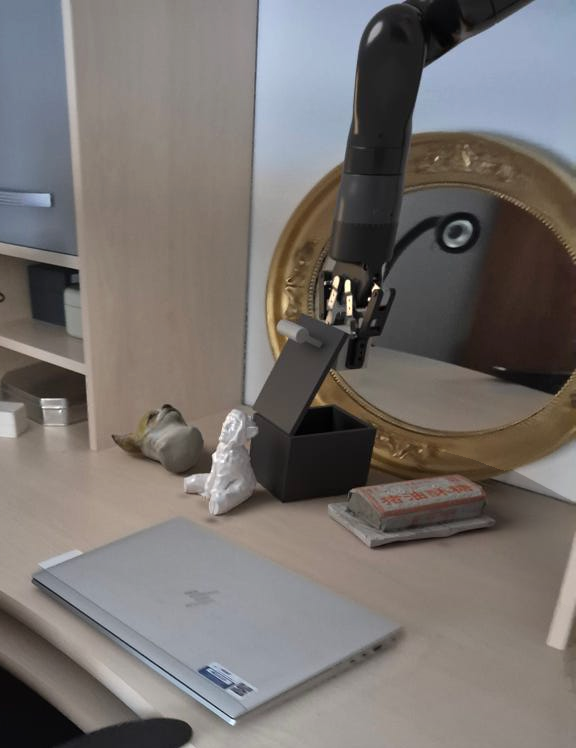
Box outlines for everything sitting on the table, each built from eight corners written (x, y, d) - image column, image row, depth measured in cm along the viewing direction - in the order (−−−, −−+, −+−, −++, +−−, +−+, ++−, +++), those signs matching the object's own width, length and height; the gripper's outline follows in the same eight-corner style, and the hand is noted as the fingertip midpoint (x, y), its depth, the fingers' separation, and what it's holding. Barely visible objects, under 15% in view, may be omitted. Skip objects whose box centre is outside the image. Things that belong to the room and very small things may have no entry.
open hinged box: (325, 463, 122) (334, 403, 117) (365, 491, 114) (377, 428, 109) (247, 473, 119) (253, 412, 114) (282, 502, 111) (290, 438, 106)
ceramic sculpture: (160, 421, 111) (106, 397, 123) (159, 483, 115) (107, 455, 127) (226, 410, 115) (168, 387, 127) (222, 470, 120) (167, 444, 131)
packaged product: (451, 464, 109) (504, 493, 101) (443, 498, 112) (494, 529, 104) (330, 480, 105) (376, 513, 97) (324, 515, 107) (368, 550, 99)
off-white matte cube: (347, 359, 111) (353, 323, 108) (366, 368, 107) (373, 332, 105) (317, 362, 110) (322, 326, 107) (335, 371, 106) (341, 334, 104)
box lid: (306, 315, 109) (276, 299, 107) (349, 334, 101) (319, 318, 98) (255, 410, 114) (227, 397, 112) (293, 436, 106) (263, 423, 104)
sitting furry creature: (179, 489, 114) (184, 403, 108) (233, 480, 117) (241, 394, 111) (213, 517, 107) (221, 425, 100) (270, 506, 110) (282, 416, 103)
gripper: (430, 223, 94) (400, 376, 104) (360, 208, 106) (338, 347, 115) (372, 225, 92) (346, 381, 102) (308, 210, 104) (290, 351, 113)
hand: (342, 362), depth 108 cm, fingers closed on off-white matte cube, 4 cm apart
